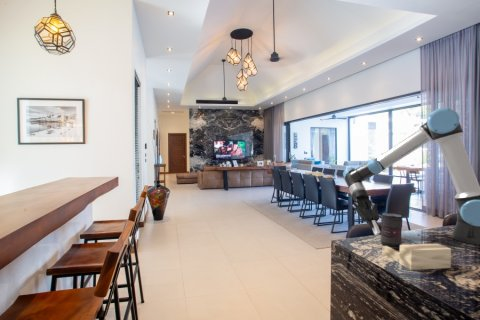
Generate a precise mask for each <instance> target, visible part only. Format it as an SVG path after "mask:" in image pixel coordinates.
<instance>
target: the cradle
mask: <svg viewBox="0 0 480 320" xmlns="http://www.w3.org/2000/svg"><path fill="white" fill-rule="evenodd" d="M381 254H383V255H385V256H387V257H389V258H391V259H392V260H394V261H396V262H397V263H399V264H400V265H402V266H404V267H405V268H406V269H409V270H410V271H413V270H414V271H416V270H417V271H419V270H433V269H434V270H436V269H451V268H452V266H451V265H452V248H450V247H447V246H445V245H442V244H439V243H422V244H421V243H420V244H401V245H400V250H399V251H396V250H394V249H392V248H390V247H388V246H382V245H381Z"/></svg>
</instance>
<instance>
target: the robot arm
mask: <svg viewBox="0 0 480 320" xmlns="http://www.w3.org/2000/svg"><path fill="white" fill-rule="evenodd" d="M463 134H464V131H463V127H462V125H461V122H460V115H459V114H458V113H457V112H456V111H455V110H454V109H451V108H450V107H449V108H447V107H441V108H437V109H435V110H433V111H432V112H431V113H430V114H429V115H428V117H427V119H426V122H425V123H423V124H421V125H420V126H419V129H418V130H417V131H415V132H414V133H412V134H410V135H409V136H408V137H406V138H404V139H403V140H402V141H400V142H398V144H396V145H394V146H393V147H391V148H390V149H389V150H387V151H385V152H384V153H382V154H381V155H379V156H377V158H373V159H370V160H368V161H367V162H366V163H365V162H364V164H362V165H360V166H359V167H357V168H355V167H349V168H348V167H347V168H346V169H344V170H343V172H342V176H343V180H344V181H345V183H346V186H347V188H348V190H349V193H350V194H351V197H352V199H353V201H354V203H353V204H352V206H351V207H352V208H353V209H354V210H355V211H356V213H357V215H359V217H360V219H361V220H362V221H363V222H364V223H365V222H366V224H368V226H369V228H370V229H372V232H373V234H374V236H379V235H380V234H381V229H380V228H379V227H380V225H379V224H378V221H379V220H380V215H379V211H378V202H375V203H374V202H373V201H372V200H371V199H370V196H369V193H368V192H367V190H366V187H365V185H364V184H363V183H364V181H366V180H368V179H369V178H372V177H373V176H378V175H380V173H381V172H383V171H385V170H386V169H387V168H389V167H391V166H392V165H394V164H396V163H397V162H398V161H400V160H402V159H403V158H405V157H407V156H408V155H410V154H411V153H414V151H416V150H417V149H419V148H421V147H423V146H424V145H425V144H427V143H428V142H429V143H430V142H435V143H437V144H438V145H439V148H440V151H441V153H442V156H443V159H444V162H445V164H446V167H447V169H448V172H449V175H450V178H451V180H452V183H453V185H454V190H455V191H456V194H455V196H453V197H454V199H455V203H456V205H457V210H456V212H457V213H456V224H455V226H454V228H453V231H452V233H451V237H452V239H454V240H456V241H458V242H463V243H464V244H465V243H466V244H471V245H478V246H480V184H479V181H478V179H477V176H476V173H475V171H474V169H473V166H472V163H471V160H470V157H469V155H468V153H467V150H466V147H465V144H464V142H463V139H462V136H463Z"/></svg>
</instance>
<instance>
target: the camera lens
mask: <svg viewBox="0 0 480 320" xmlns="http://www.w3.org/2000/svg"><path fill="white" fill-rule="evenodd" d="M380 219H381V221H380V225H381V227H380V228H381V229H380V232H381V233H380V234H381V235H380V242H381V247H382V246H388V247H390V248H392V249H394V250H396V251H398V252H400V245H402V228H403V216H402V215H401V214H396V213H391V212H390V213H389V212H383V213H381V218H380Z"/></svg>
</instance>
